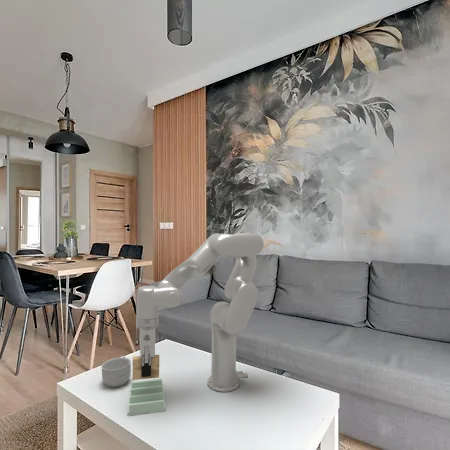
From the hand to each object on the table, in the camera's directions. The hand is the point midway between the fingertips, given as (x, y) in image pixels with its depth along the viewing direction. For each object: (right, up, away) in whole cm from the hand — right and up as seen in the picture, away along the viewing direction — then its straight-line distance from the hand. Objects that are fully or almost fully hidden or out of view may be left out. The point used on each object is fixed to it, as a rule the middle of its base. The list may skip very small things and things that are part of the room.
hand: (146, 373), depth 109 cm
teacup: (-14, -9, +13) cm, 22 cm away
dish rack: (0, -9, 0) cm, 9 cm away
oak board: (0, -1, 0) cm, 1 cm away
